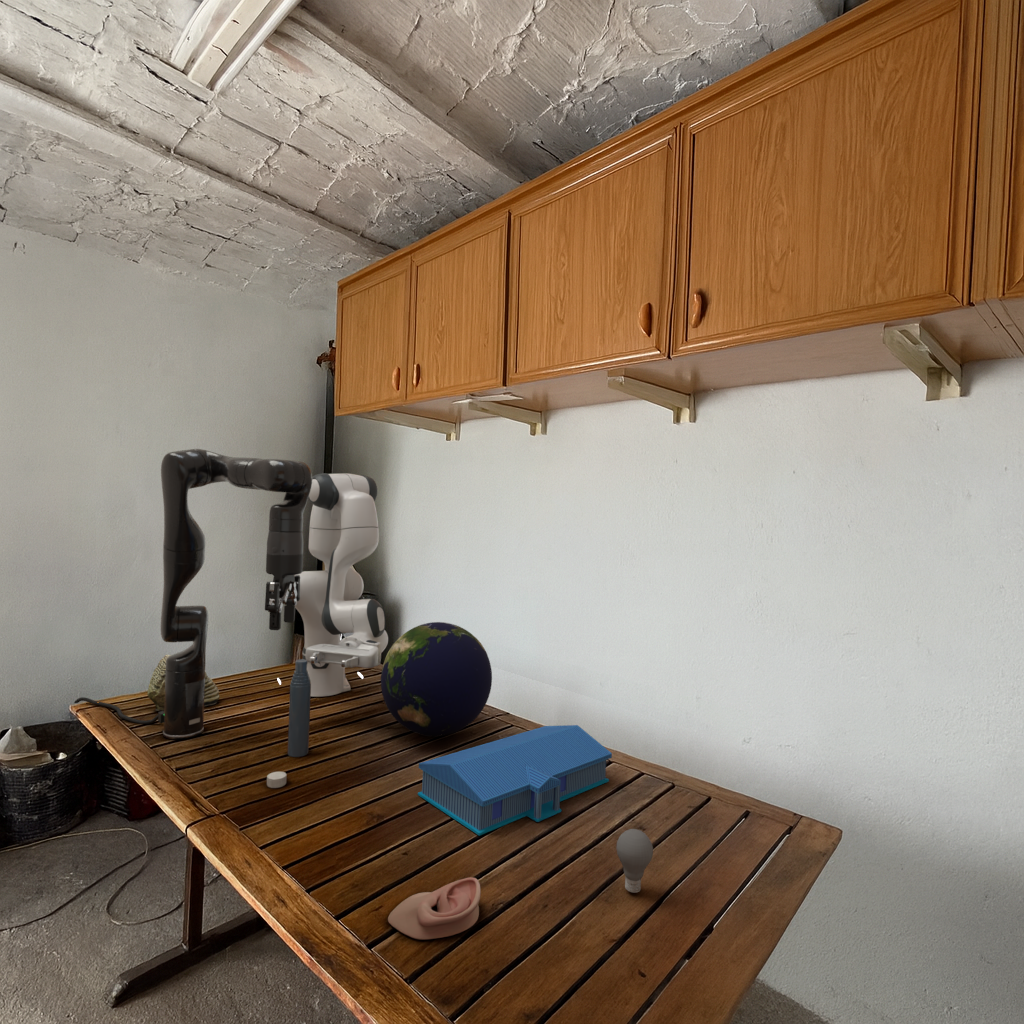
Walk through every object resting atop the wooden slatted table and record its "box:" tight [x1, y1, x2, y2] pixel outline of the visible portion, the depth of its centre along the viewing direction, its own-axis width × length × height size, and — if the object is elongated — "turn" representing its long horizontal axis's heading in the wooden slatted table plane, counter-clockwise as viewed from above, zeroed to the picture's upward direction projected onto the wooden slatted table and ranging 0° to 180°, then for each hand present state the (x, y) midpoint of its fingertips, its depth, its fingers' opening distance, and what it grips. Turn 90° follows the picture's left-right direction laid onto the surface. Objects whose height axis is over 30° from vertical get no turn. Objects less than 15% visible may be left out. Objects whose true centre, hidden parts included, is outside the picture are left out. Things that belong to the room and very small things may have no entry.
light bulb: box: [615, 828, 654, 894], centre depth 106 cm, size 6×6×10 cm
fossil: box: [147, 654, 221, 712], centre depth 185 cm, size 9×18×15 cm, turn 132°
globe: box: [380, 621, 493, 737], centre depth 172 cm, size 30×30×30 cm
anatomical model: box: [387, 877, 482, 940], centre depth 97 cm, size 13×4×12 cm
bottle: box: [286, 658, 312, 758], centre depth 155 cm, size 5×5×23 cm
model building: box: [417, 724, 613, 837], centre depth 140 cm, size 39×24×10 cm, turn 132°
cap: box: [266, 771, 288, 789], centre depth 139 cm, size 4×4×2 cm
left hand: (282, 625), depth 138 cm, fingers open, 8 cm apart
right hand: (327, 662), depth 167 cm, fingers open, 8 cm apart
